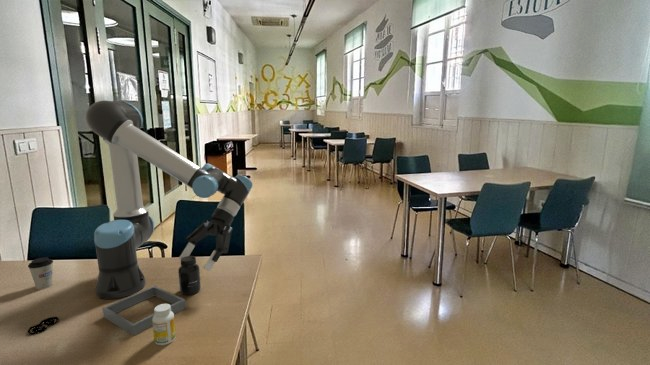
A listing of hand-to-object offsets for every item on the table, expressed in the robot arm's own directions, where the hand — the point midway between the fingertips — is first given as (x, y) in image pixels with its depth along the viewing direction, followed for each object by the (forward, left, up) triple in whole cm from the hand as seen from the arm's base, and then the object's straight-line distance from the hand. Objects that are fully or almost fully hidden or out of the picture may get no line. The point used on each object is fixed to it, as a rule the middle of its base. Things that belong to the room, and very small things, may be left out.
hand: (193, 264), depth 120 cm
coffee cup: (-48, -28, -9) cm, 56 cm away
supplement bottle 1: (+17, -22, -9) cm, 29 cm away
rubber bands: (-19, -38, -10) cm, 43 cm away
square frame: (-1, -18, -9) cm, 20 cm away
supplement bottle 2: (-1, -2, -9) cm, 10 cm away
